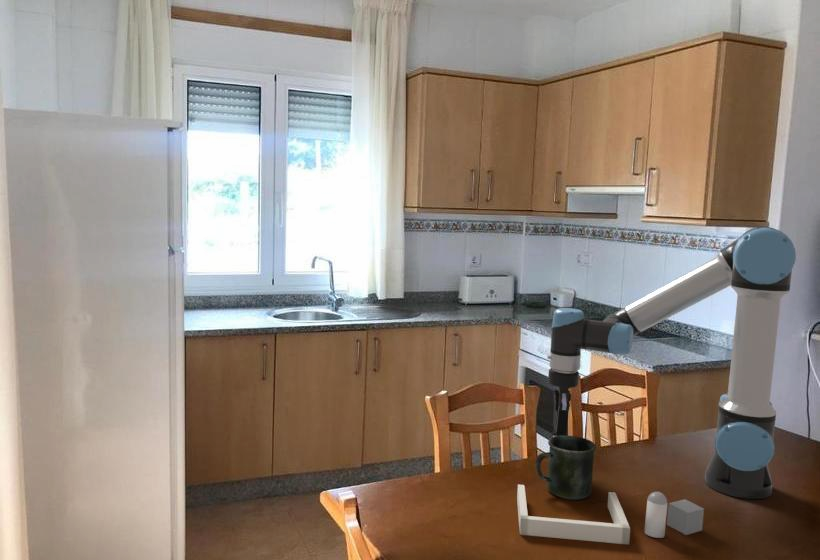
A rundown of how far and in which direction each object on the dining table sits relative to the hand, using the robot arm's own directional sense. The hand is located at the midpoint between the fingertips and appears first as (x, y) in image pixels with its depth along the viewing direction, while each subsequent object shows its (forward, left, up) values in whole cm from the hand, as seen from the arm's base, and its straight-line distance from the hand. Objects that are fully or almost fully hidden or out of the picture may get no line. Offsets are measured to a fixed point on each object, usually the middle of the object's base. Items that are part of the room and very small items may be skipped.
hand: (557, 458), depth 175 cm
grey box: (-25, +26, -3) cm, 36 cm away
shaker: (-17, +31, -3) cm, 35 cm away
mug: (0, +13, -3) cm, 14 cm away
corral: (0, +28, -3) cm, 28 cm away
